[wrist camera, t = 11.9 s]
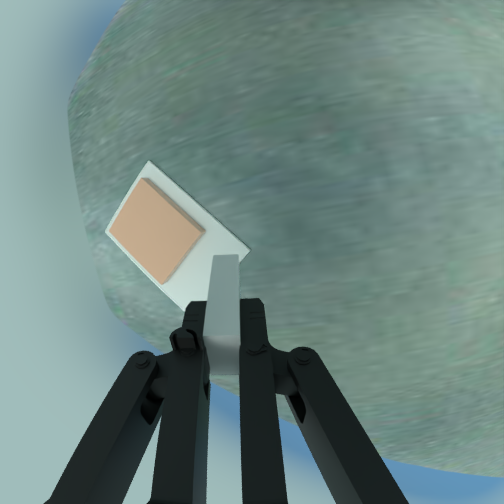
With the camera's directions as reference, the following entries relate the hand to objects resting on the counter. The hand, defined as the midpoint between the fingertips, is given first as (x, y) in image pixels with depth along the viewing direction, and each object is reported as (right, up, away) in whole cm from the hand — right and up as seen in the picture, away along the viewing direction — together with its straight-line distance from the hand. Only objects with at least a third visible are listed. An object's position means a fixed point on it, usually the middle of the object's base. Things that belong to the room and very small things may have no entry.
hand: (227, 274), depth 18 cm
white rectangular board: (-11, +3, +24) cm, 26 cm away
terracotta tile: (-8, 0, +22) cm, 24 cm away
